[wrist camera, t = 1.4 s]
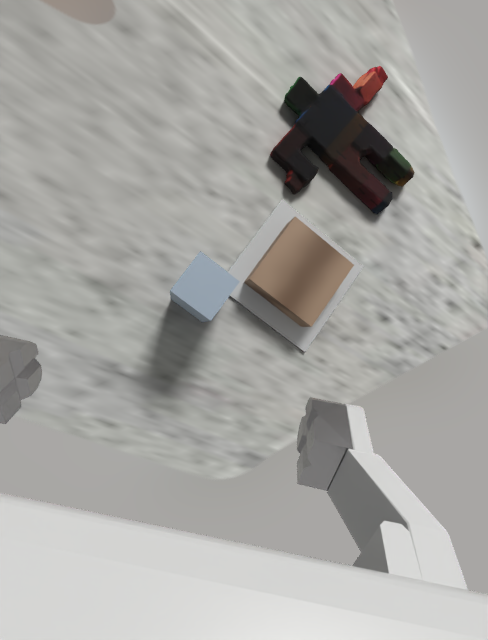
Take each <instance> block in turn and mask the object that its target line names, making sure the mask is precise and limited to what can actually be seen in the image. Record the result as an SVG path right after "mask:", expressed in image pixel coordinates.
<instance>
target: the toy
mask: <svg viewBox="0 0 488 640" xmlns="http://www.w3.org/2000/svg"><path fill="white" fill-rule="evenodd" d="M387 78H388V76H387V75H386V73H385V71H384V69H383V68H382V67H381V66H379V67H374V68H372V69H370V70H369V71H368V72H367V73H365V74H364V75H362V76H361V77H360V78H359V79H358V80H357V82H356V83H355V85H354V86H352V85H351V84H350V83H349V81H348V80H347V79H346V78H345V77H344V76H343V74H341V73H340V74H338V75H337V76H336V77H335V79H333V80H332V81H331V83H330V85H328V86H327V87H326V89H325V90H324V91H323V92H322V93H321V94H318V93H317V92H316V91H315V90H314V89H313V88H312V87H311V86H310V85H309V84H308V83H307V82H306V81H305V80H304V79H303V78H302V77H299V78H298V79H297V81H296V82H295V84H294V85H293V86H291V87H290V90H289V91H288V93H287V94H286V95H285V103H286V104H287V106H289V107H290V108H292V109H293V110H294V111H295V112H296V113H297V114H298V115H299V119H297V121H296V122H295V125H294V126H293V128H292V129H291V130H290V131H289V132H288V133H287V134H286V135H285V136H284V137H283V139H282V140H281V141H280V142H279V143H278V144H277V145H276V146H275V147H274V148H273V151H272V152H271V154H270V156H271V158H272V159H273V160H274V161H275V162H276V163H277V164H279V165H280V166H281V167H282V168H283V169H284V170H285V171H286V172H287V173H288V174H287V175H286V181H285V185H286V186H287V187H288V188H289V189H290V190H291V192H292V193H293V194H296V193H297V192H299V191H300V190H301V189H302V188H303V187H305V186H306V185H307V184H308V183H309V182H310V181H311V180H312V179H313V178H314V177H315V175H316V174H317V172H318V167H316V166H314V165H313V164H312V163H311V162H310V161H309V160H308V159H307V158H306V157H305V156H304V155H303V154H302V153H301V151H300V150H301V149H302V148H303V147H305V146H308V147H309V148H310V149H311V150H312V151H314V152H315V153H316V154H317V155H318V156H319V158H320V159H321V160H322V161H323V162H324V163H325V164H326V165H327V166H328V167H329V170H330V171H331V172H332V173H333V174H334V175H335V176H337V177H338V178H339V179H340V180H341V181H342V182H343V183H344V184H345V185H346V186H347V187H348V188H349V189H350V190H351V191H352V192H353V193H354V194H355V195H356V196H357V197H358V198H359V199H360V200H361V201H362V202H363V203H364V204H366V205H367V206H368V207H369V208H370V209H371V210H372V211H373V212H374V213H376V214H378V213H380V212H381V211H382V210H383V209H385V208H386V207H387V206H388V205H389V204H390V202H391V200H392V192H390V191H389V190H388V189H387V188H386V186H384V185H383V184H382V183H381V182H380V181H379V180H378V179H377V178H376V177H375V176H374V175H372V174H370V173H369V172H368V171H367V169H366V168H365V167H363V166H362V165H361V164H360V162H359V160H360V159H361V158H362V157H364V156H366V157H367V158H368V159H369V160H370V162H371V163H372V164H374V165H376V166H377V169H378V170H380V171H381V172H382V173H383V175H384V176H385V177H387V178H388V179H389V180H390V181H391V182H392V183H395V184H397V185H398V186H404V185H405V184H406V183H407V182H408V181H409V180H410V179H411V178H413V175H414V171H413V169H412V167H411V165H410V163H409V162H408V161H407V160H406V159H405V158H404V157H403V156H402V155H401V154H400V153H399V152H398V150H397V149H394V148H393V146H392V145H391V144H390V143H389V142H388V141H387V140H386V139H385V138H384V137H383V136H382V135H381V134H380V133H379V132H378V131H377V130H376V129H375V128H374V127H373V126H372V125H371V124H369V123H368V122H367V121H366V120H365V119H364V118H363V117H362V116H361V115H360V114H359V113H358V111H359V110H360V109H361V108H362V107H363V106H365V105H366V104H368V103H369V102H370V100H371V99H372V98H373V96H374V95H375V94H376V93H377V92H378V91H379V90H380V89H381V88H382V85H383V83H384V82H385V81H386V80H387Z"/></svg>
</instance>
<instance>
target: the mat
mask: <svg viewBox="0 0 488 640" xmlns="http://www.w3.org/2000/svg"><path fill="white" fill-rule="evenodd" d="M295 216H296V217H297V218H298V219H299V220H300V221H302V222H303V223H304V224H305V225H306V226H308V227H309V228H310V229H311V230H312V231H314V232H315V233H316V234H317V235H319V236H320V237H321V238H322V239H323V240H325V241H326V242H327V243H328V244H329V245H331V246H332V247H333V248H334V249H336V250H337V251H338V252H339V253H340V254H342V255H343V256H344V257H345V258H346V259H348V260H349V261H350V262H351V263H352V264H354V266H353V268H352V269H351V270H350V272H349V273H348V275H347V276H346V278H345V279H344V281H343V282H342V284H341V285H340V286H339V288H338V289H337V291H336V292H335V294H334V295H333V297H332V298H331V299H330V301H329V302H328V304H327V305H326V307H325V308H324V310H323V311H322V313H321V314H320V315H319V317H318V318H317V320H316V321H315V323H314V324H313V326H312V327H301V326H300V325H298V324H297V323H296V322H294V321H293V320H292V319H291V318H289V317H288V316H287V315H285V314H284V313H283V312H281V311H280V310H279V309H278V308H276V307H275V306H274V305H272V304H271V303H270V302H268V301H267V300H266V299H265V298H263V297H262V296H261V295H259V294H258V293H257V292H255V291H254V290H253V289H252V288H250V287H249V286H248V285H246V284H245V283H244V281H245V280H246V278H247V277H248V276H249V274H250V273H251V272H252V270H253V269H254V268H255V266H256V265H257V263H258V262H259V261H260V259H261V258H262V257H263V255H264V254H265V253H266V251H267V250H268V248H269V247H270V246H271V244H272V243H273V242H274V240H275V239H276V238H277V236H278V235H279V233H280V232H281V231H282V229H283V228H284V227H285V225H286V224H287V223H288V222H289V221H291V220H292V219H293V218H294V217H295ZM363 267H364V266H363V265H362V264H360V263H359V262H358V261H357V260H356V259H354V258H353V257H352V256H351V255H350V254H348V253H347V252H346V251H345V250H344V249H342V248H341V247H340V246H339V245H337V244H336V243H335V242H334V241H333V240H331V239H330V238H329V237H328V236H327V235H325V234H324V233H323V232H322V231H321V230H319V229H318V228H317V227H316V226H315V225H313V224H312V223H311V222H310V221H308V220H307V219H306V218H305V217H304V216H302V215H301V214H300V213H299V212H298V211H296V210H295V209H294V208H293V207H292V206H290V205H289V204H288V203H287V202H286V201H284V200H283V199H282V200H281V201H280V202H279V204H278V205H277V206H276V208H275V209H274V210H273V212H272V213H271V214H270V216H269V217H268V218H267V220H266V221H265V223H264V224H263V225H262V227H261V228H260V229H259V231H258V232H257V233H256V235H255V236H254V237H253V239H252V240H251V241H250V243H249V244H248V245H247V247H246V248H245V249H244V251H243V252H242V253H241V255H240V256H239V257H238V259H237V260H236V261H235V263H234V264H233V265H232V267H231V268H230V270H229V271H228V273H229V274H231V275H232V276H233V277H235V278H236V279H237V280H239V281H240V282H239V283H238V285H237V286H236V288H235V289H234V290H233V292H232V293H231V294H230V296H231V297H232V298H233V299H235V300H236V301H237V302H239V303H240V304H241V305H243V306H244V307H245V308H247V309H248V310H249V311H251V312H252V313H253V314H255V315H256V316H257V317H259V318H260V319H261V320H263V321H264V322H265V323H266V324H268V325H269V326H270V327H272V328H273V329H274V330H276V331H277V332H278V333H280V334H281V335H282V336H284V337H285V338H286V339H288V340H289V341H290V342H292V343H293V344H294V345H296V346H297V347H298V348H299V349H301V350H302V351H303V352H306V350H307V349H308V347H309V346H310V344H311V343H312V341H313V340H314V339H315V337H316V336H317V334H318V333H319V331H320V330H321V328H322V327H323V325H324V324H325V323H326V321H327V320H328V318H329V317H330V315H331V314H332V312H333V311H334V309H335V308H336V306H337V305H338V304H339V302H340V301H341V299H342V298H343V296H344V295H345V293H346V292H347V290H348V289H349V287H350V286H351V285H352V283H353V282H354V280H355V279H356V277H357V276H358V274H359V273H360V271H361V270H362V268H363Z"/></svg>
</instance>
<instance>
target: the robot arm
mask: <svg viewBox="0 0 488 640" xmlns="http://www.w3.org/2000/svg"><path fill="white" fill-rule="evenodd" d="M37 355H38V349H37V345H36V344H35V343H33V342H30V341H25V340H21V339H16V338H12V337H8V336H3V335H0V423H2V424H6V423H7V422H8V421H9V420H10V419H11V418H12V417H13V415H14V414H15V413H16V412H17V411H18V410H19V409H20V408H21V400H22V399H25V398H27V397H29V396H31V395H32V394H33V393H34V392H35V390H36V389H37V388H38V385H39V383H40V381H41V377H42V369H41V365H40V364H39V362H38V361H37V360H36V359H35V357H36V356H37ZM297 450H298V451H299V453H300V456H299V459H298V462H297V480H298V484H300V485H305V486H309V487H313V488H317V489H322V490H326V491H328V492H327V493H328V495H329V496H330V498H331V500H332V502H333V503H334V505H335V507H336V509H337V510H338V512H339V514H340V516H341V518H342V519H343V521H344V523H345V525H346V526H347V528H348V530H349V532H350V533H351V535H352V537H353V539H354V540H355V542H356V544H357V546H358V548H359V549H360V551H361V554H360V555H359V557H358V558H357V560H356V561H355V563H354V564H353V565H352V566H351V565H346V564H341V563H336V562H331V561H327V560H322V559H317V558H312V557H307V556H302V555H298V554H293V553H288V552H283V551H279V550H273V549H269V548H264V547H259V546H255V545H249V544H245V543H240V542H235V541H230V540H226V539H221V538H216V537H211V536H207V535H202V534H197V533H192V532H187V531H183V530H178V529H173V528H168V527H163V526H158V525H154V524H149V523H144V522H139V521H134V520H130V519H125V518H119V517H115V516H110V515H105V514H101V513H95V512H91V511H86V510H81V509H77V508H72V507H67V506H62V505H57V504H52V503H48V502H43V501H38V500H33V499H29V498H24V497H19V496H14V495H9V494H5V493H0V640H488V594H485V593H480V592H475V591H471V590H468V589H467V586H466V583H465V580H464V577H463V574H462V571H461V569H460V566H459V563H458V560H457V557H456V554H455V551H454V548H453V546H452V543H451V540H450V537H449V534H448V532H447V531H446V530H445V529H444V528H443V527H442V525H441V524H440V523H439V522H438V521H437V520H436V519H435V517H434V516H433V515H432V514H431V513H430V512H429V511H428V510H427V508H426V507H425V506H424V505H423V504H422V503H421V502H420V500H419V499H418V498H417V497H416V496H415V495H414V494H413V493H412V491H411V490H410V489H409V488H408V487H407V486H406V485H405V484H404V483H403V481H402V480H401V479H400V478H399V477H398V476H397V475H396V473H395V472H394V471H393V470H392V469H391V468H390V467H389V465H388V464H387V463H386V462H385V461H384V460H383V459H382V458H381V456H380V455H376V454H374V452H373V448H372V443H371V439H370V434H369V430H368V426H367V421H366V417H365V412H364V409H363V408H362V407H360V406H354V405H349V404H342V403H337V402H332V401H326V400H321V399H316V398H311V397H310V398H309V400H308V402H307V405H306V415H305V416H304V417H302V419H301V422H300V426H299V431H298V437H297Z"/></svg>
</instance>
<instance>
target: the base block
mask: <svg viewBox="0 0 488 640" xmlns="http://www.w3.org/2000/svg"><path fill="white" fill-rule="evenodd" d="M353 266H354V264H352V263H351V262H350V261H349V260H348V259H346V258H345V257H344V256H343V255H342V254H340V253H339V252H338V251H337V250H336V249H334V248H333V247H332V246H331V245H329V244H328V243H327V242H326V241H325V240H323V239H322V238H321V237H320V236H319V235H317V234H316V233H315V232H314V231H312V230H311V229H310V228H309V227H308V226H306V225H305V224H304V223H303V222H302V221H300V220H299V219H298V218H297V217H296V216H295V217H294V218H293V219H292V220H291V221H289V222H288V223H287V224H286V225H285V227H284V228H283V229H282V231H281V232H280V233H279V235H278V236H277V238H276V239H275V240H274V242H273V243H272V244H271V246H270V247H269V248H268V250H267V251H266V253H265V254H264V255H263V257H262V258H261V259H260V261H259V262H258V263H257V265H256V266H255V268H254V269H253V270H252V272H251V273H250V274H249V276H248V277H247V278H246V280H245V281H244V283H245V284H246V285H248V286H249V287H250V288H252V289H253V290H254V291H255V292H257V293H258V294H259V295H261V296H262V297H263V298H265V299H266V300H267V301H268V302H270V303H271V304H272V305H274V306H275V307H276V308H278V309H279V310H280V311H281V312H283V313H284V314H285V315H287V316H288V317H289V318H291V319H292V320H293V321H294V322H296V323H297V324H298V325H300V326H301V327H312V326H313V324H314V323H315V321H316V320H317V318H318V317H319V315H320V314H321V313H322V311H323V310H324V308H325V307H326V305H327V304H328V302H329V301H330V299H331V298H332V297H333V295H334V294H335V292H336V291H337V289H338V288H339V286H340V285H341V284H342V282H343V281H344V279H345V278H346V276H347V275H348V273H349V272H350V270H351V269H352V268H353Z"/></svg>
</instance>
